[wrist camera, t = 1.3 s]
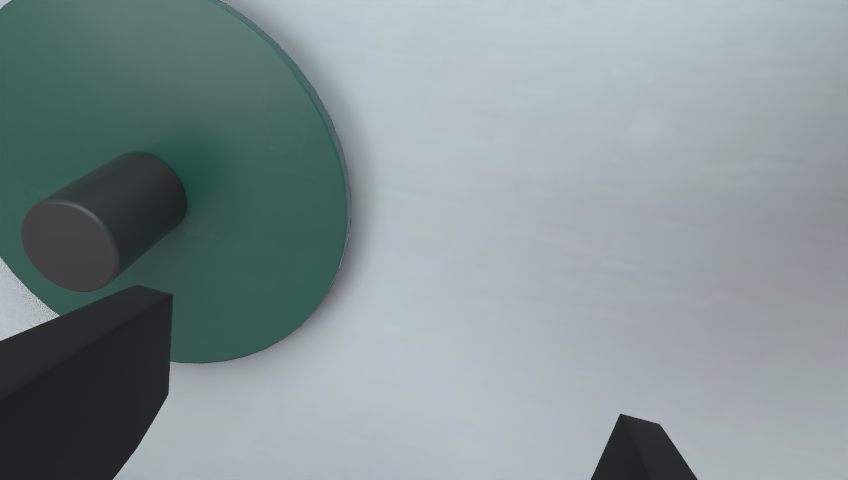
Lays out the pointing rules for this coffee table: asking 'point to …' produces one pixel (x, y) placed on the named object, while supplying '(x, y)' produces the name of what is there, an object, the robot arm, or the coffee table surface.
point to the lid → (168, 168)
